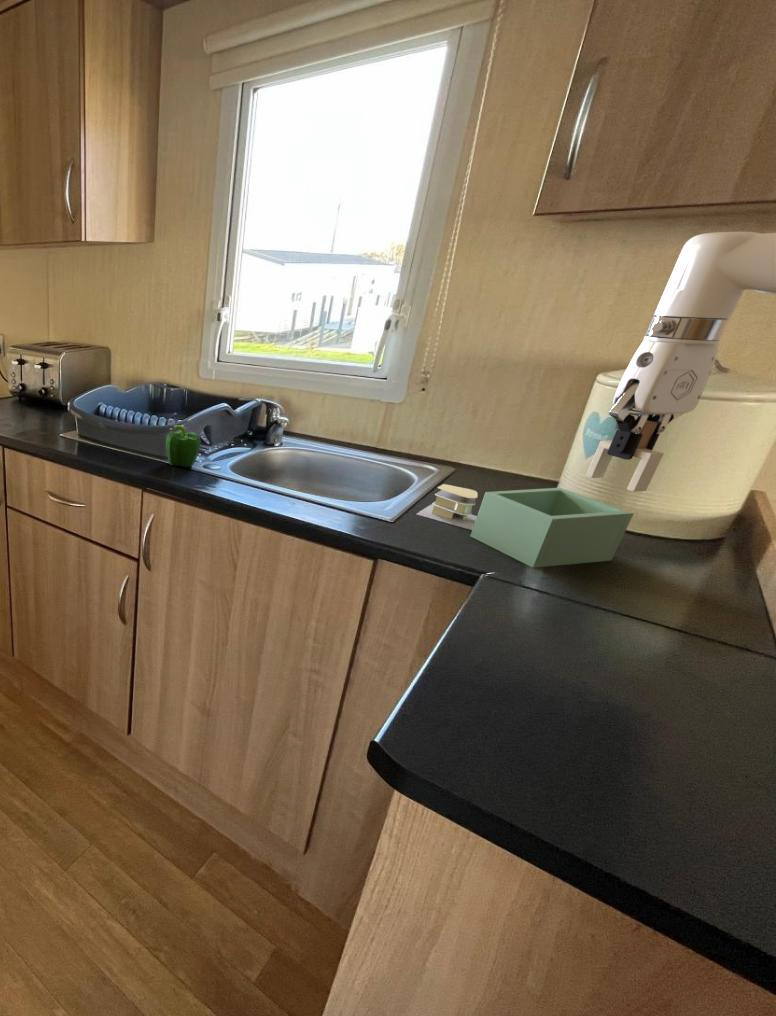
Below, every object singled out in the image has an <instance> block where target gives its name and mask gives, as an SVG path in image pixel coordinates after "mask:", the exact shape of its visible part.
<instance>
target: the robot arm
mask: <svg viewBox="0 0 776 1016" xmlns="http://www.w3.org/2000/svg"><path fill="white" fill-rule="evenodd" d="M745 290H749V291H754V292H756V293H760V294H764V295H776V232H768V233H767V232H766V233H761V232H753V231H719V232H717V231H715V232H707V233H705V232H704V233H700V234H698V235H694V236H692V237H691V238H690V239H688V240H687V241H686V242H685V243H684V245H683V247H682V248H681V251H680V254H679V255H678V258H677V260H676V262H675V265H674V267H673V270H672V272H671V274H670V277H669V278H668V281H667V283H666V286H665V288H664V290H663V293H662V295H661V297H660V300H659V301H658V304H657V306H656V309H655V311H654V314H653V316H652V318H651V321H650V322H649V325H648V327H647V330H646V332H645V335H644V336H643V340H642V342H641V343H640V345H639V347H638V348H637V350H636V351H635V353H634V354H633V356H632V358H631V360H630V362H629V363H628V366H627V367H626V369H625V371H624V373H623V375H622V377H621V379H620V382H619V384H618V386H617V388H616V391H615V393H614V397H613V400H612V405H613V406H612V408H611V409H609V412H608V415H609V416H610V417H612V418H613V419H615V422H616V423H615V427H614V429H615V430H616V431H615V434H614V436H613V438H612V439H611V440H612V442H611V445H610V447H609V449H608V451H607V454H608V455H611V456H612V457H616V458H619V459H623V460H627V461H628V460H633V458H634V457H635V456H633V455H634V453H635V451H636V449H637V447H638V444H639V442H640V440H641V438H642V436H643V434H639V433H640V432H641V430H642V428H643V426H644V424H645V422H646V420H647V421H652V422H657V423H658V424H657V426H656V428H655V430H654V432H653V434H652V436H651V439H650V441H649V443H648V445H647V447H646V448H645V449H649V450H653V449H654V448H655V446H656V443H657V441H658V439H659V437H660V434H663V433H664V432H665V430H666V428H667V426H668V424H670V423H671V422H672V421H673V420H675V419H677V418H679V417H681V416H683V415H684V414H688V413H690V412H692V411H694V410H695V409H696V408H697V406H698V404H699V402H700V401H701V397H702V395H703V393H704V391H705V389H706V386H707V384H708V382H709V379H710V376H711V374H712V371H713V368H714V365H715V362H716V360H717V355H718V352H719V346H720V343H719V342H720V340H721V339H722V336H723V334H724V332H725V330H726V328H727V326H728V324H729V321H730V319H731V318H732V316H733V314H734V312H735V310H736V308H737V305H738V304H739V301H740V299H741V297H742V295H743V293H744V291H745ZM635 416H637V417H635ZM635 419H636V420H635ZM653 451H654V450H653ZM635 458H636V457H635ZM637 458H638V459H640V458H639V457H637Z"/></svg>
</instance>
